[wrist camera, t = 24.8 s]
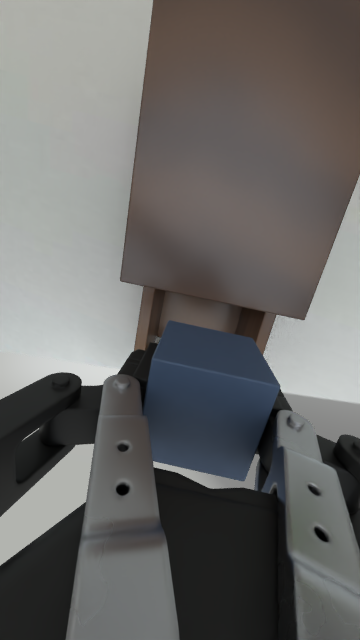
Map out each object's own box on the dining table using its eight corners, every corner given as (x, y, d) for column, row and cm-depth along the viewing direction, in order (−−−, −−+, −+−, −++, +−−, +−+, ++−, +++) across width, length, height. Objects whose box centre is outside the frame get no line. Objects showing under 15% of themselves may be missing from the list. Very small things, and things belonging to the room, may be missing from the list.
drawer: (225, 406, 27) (235, 467, 19) (135, 386, 27) (111, 439, 19) (275, 242, 21) (316, 238, 14) (162, 218, 21) (143, 203, 14)
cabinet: (263, 292, 23) (304, 320, 14) (150, 268, 24) (119, 281, 15) (318, 118, 19) (427, -3, 10) (178, 90, 19) (159, -53, 10)
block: (154, 391, 13) (133, 457, 9) (168, 319, 12) (151, 358, 8) (230, 408, 13) (244, 482, 9) (253, 337, 12) (281, 386, 8)
